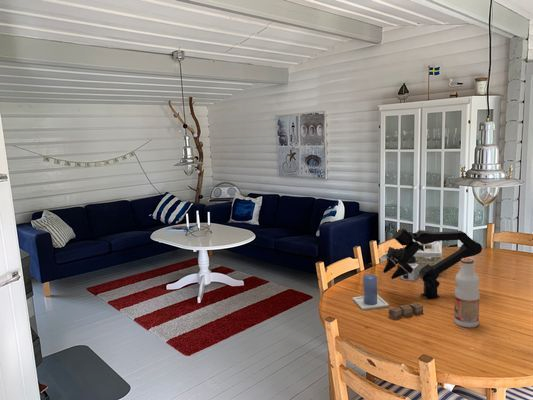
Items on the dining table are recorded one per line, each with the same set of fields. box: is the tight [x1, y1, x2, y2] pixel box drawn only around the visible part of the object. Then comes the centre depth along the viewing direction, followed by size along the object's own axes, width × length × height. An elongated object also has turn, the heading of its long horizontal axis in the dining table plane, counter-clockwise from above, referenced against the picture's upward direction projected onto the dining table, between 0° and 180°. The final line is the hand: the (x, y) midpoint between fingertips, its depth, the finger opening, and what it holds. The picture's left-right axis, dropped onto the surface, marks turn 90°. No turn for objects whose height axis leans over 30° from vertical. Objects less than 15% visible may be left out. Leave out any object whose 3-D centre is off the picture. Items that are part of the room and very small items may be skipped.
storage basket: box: [413, 240, 443, 277], centre depth 240 cm, size 24×16×15 cm
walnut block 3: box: [409, 302, 424, 317], centre depth 184 cm, size 4×4×4 cm
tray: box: [352, 294, 390, 311], centre depth 198 cm, size 13×13×1 cm
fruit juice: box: [453, 257, 480, 329], centre depth 171 cm, size 9×9×28 cm
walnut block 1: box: [388, 306, 403, 321], centre depth 182 cm, size 4×4×4 cm
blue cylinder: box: [362, 274, 378, 305], centre depth 197 cm, size 6×6×13 cm
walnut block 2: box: [399, 304, 413, 319], centre depth 183 cm, size 4×4×4 cm
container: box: [400, 256, 420, 282], centre depth 228 cm, size 8×8×13 cm
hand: (387, 275), depth 200 cm, fingers open, 9 cm apart
